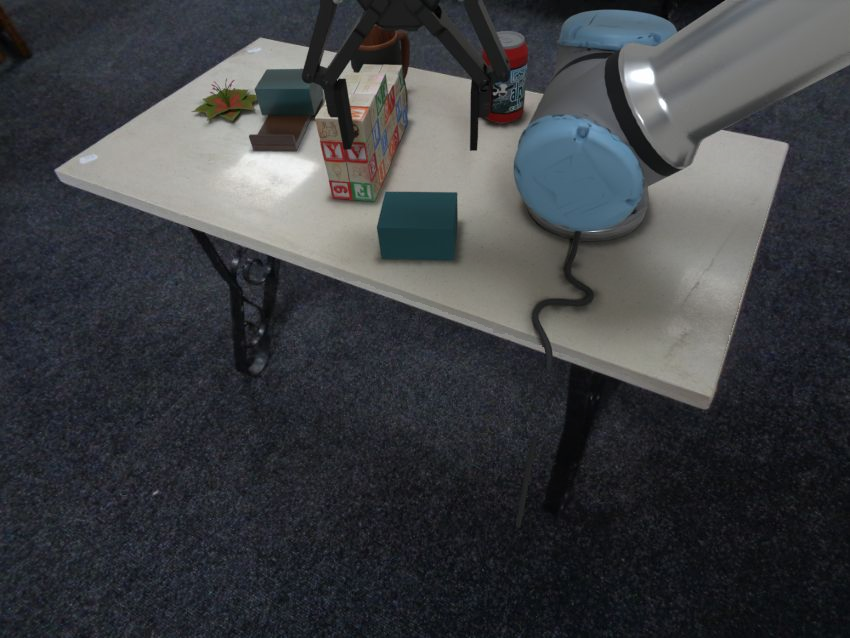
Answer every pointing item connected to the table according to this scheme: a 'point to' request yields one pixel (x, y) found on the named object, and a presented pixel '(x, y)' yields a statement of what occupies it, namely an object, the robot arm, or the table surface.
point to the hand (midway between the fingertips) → (411, 143)
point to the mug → (383, 50)
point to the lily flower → (227, 102)
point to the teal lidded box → (284, 109)
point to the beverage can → (511, 93)
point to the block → (418, 225)
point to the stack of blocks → (365, 132)
